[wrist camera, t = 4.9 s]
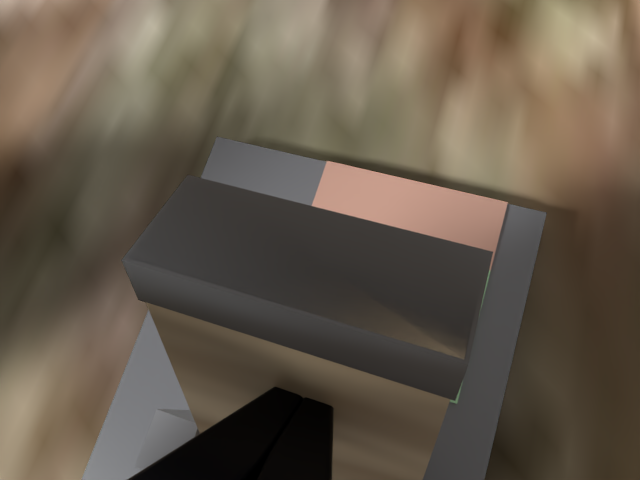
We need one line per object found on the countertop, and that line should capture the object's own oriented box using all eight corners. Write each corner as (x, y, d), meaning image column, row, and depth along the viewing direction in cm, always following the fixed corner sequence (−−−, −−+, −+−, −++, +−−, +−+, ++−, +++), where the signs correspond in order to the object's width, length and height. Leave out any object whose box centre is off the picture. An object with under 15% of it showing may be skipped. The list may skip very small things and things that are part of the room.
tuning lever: (402, 569, 12) (483, 369, 6) (217, 495, 13) (110, 256, 7) (419, 495, 13) (506, 255, 7) (246, 432, 14) (177, 172, 8)
